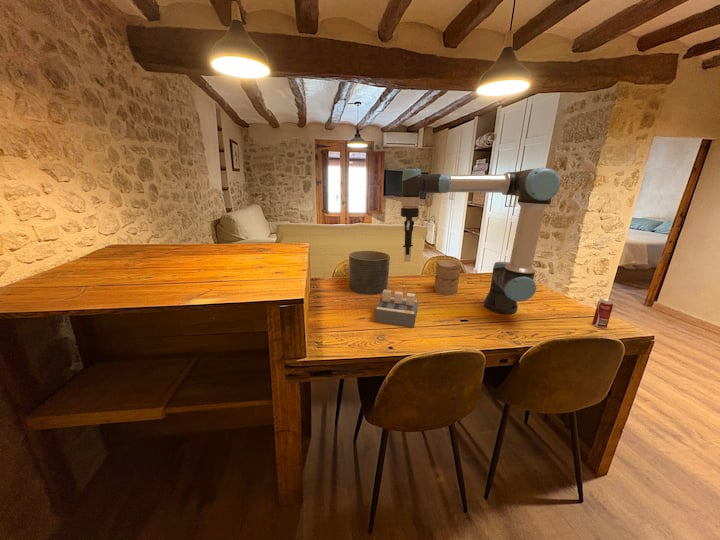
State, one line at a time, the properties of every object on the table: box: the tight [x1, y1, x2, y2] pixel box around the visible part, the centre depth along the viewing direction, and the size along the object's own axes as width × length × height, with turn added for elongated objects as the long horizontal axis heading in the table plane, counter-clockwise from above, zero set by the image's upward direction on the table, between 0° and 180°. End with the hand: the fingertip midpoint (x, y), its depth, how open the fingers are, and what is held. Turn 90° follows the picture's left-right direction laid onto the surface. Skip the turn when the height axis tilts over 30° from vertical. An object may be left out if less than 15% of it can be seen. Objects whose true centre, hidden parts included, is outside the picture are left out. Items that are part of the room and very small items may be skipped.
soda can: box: [591, 298, 614, 329], centre depth 131 cm, size 5×5×12 cm
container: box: [433, 258, 462, 296], centre depth 163 cm, size 13×13×18 cm
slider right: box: [405, 292, 416, 306], centre depth 133 cm, size 4×4×4 cm
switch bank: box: [374, 296, 419, 328], centre depth 134 cm, size 17×16×6 cm
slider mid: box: [393, 290, 404, 304], centre depth 135 cm, size 4×4×4 cm
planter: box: [348, 250, 391, 296], centre depth 165 cm, size 22×22×20 cm
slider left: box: [381, 289, 393, 302], centre depth 137 cm, size 4×4×4 cm
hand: (407, 261), depth 133 cm, fingers closed
